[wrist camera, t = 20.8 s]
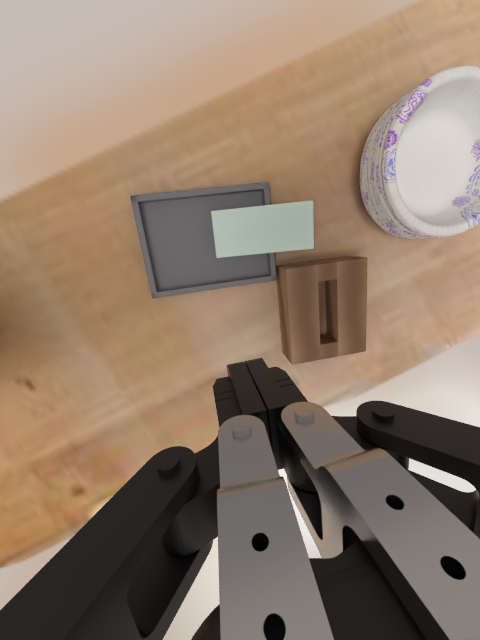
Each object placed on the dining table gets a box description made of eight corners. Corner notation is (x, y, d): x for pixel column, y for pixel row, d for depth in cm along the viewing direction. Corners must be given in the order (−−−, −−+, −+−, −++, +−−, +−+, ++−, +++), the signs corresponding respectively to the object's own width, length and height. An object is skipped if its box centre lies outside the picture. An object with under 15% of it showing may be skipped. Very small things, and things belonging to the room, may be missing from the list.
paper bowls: (344, 107, 31) (392, 63, 23) (461, 101, 33) (541, 58, 25) (343, 245, 35) (384, 245, 28) (447, 232, 37) (511, 230, 30)
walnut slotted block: (282, 352, 38) (292, 364, 34) (275, 266, 34) (285, 269, 31) (349, 340, 39) (365, 351, 35) (348, 256, 36) (367, 257, 32)
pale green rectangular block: (216, 257, 31) (313, 248, 30) (211, 211, 29) (313, 200, 29) (218, 256, 33) (310, 247, 32) (213, 212, 31) (309, 202, 31)
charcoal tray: (154, 295, 33) (152, 298, 32) (133, 198, 30) (130, 196, 28) (272, 278, 35) (276, 280, 33) (265, 185, 32) (268, 182, 30)
